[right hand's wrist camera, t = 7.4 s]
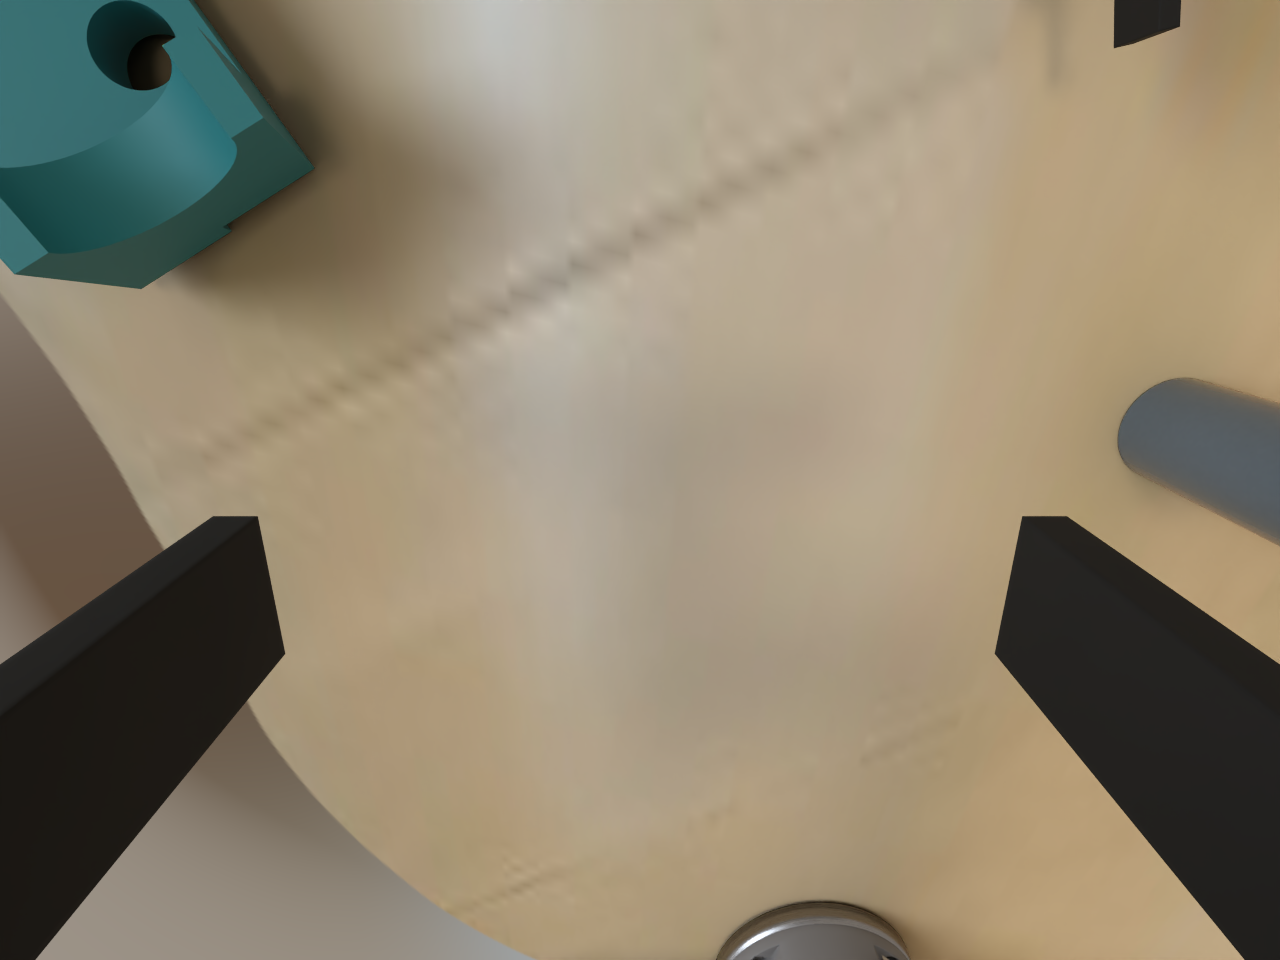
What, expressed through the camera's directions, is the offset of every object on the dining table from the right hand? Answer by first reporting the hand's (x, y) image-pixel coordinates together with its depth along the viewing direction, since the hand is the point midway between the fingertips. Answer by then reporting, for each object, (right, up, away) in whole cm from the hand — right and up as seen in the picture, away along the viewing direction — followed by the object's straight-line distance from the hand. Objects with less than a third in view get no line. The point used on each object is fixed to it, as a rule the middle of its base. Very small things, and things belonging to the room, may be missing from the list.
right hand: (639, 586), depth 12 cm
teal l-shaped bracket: (-25, +23, +22) cm, 40 cm away
